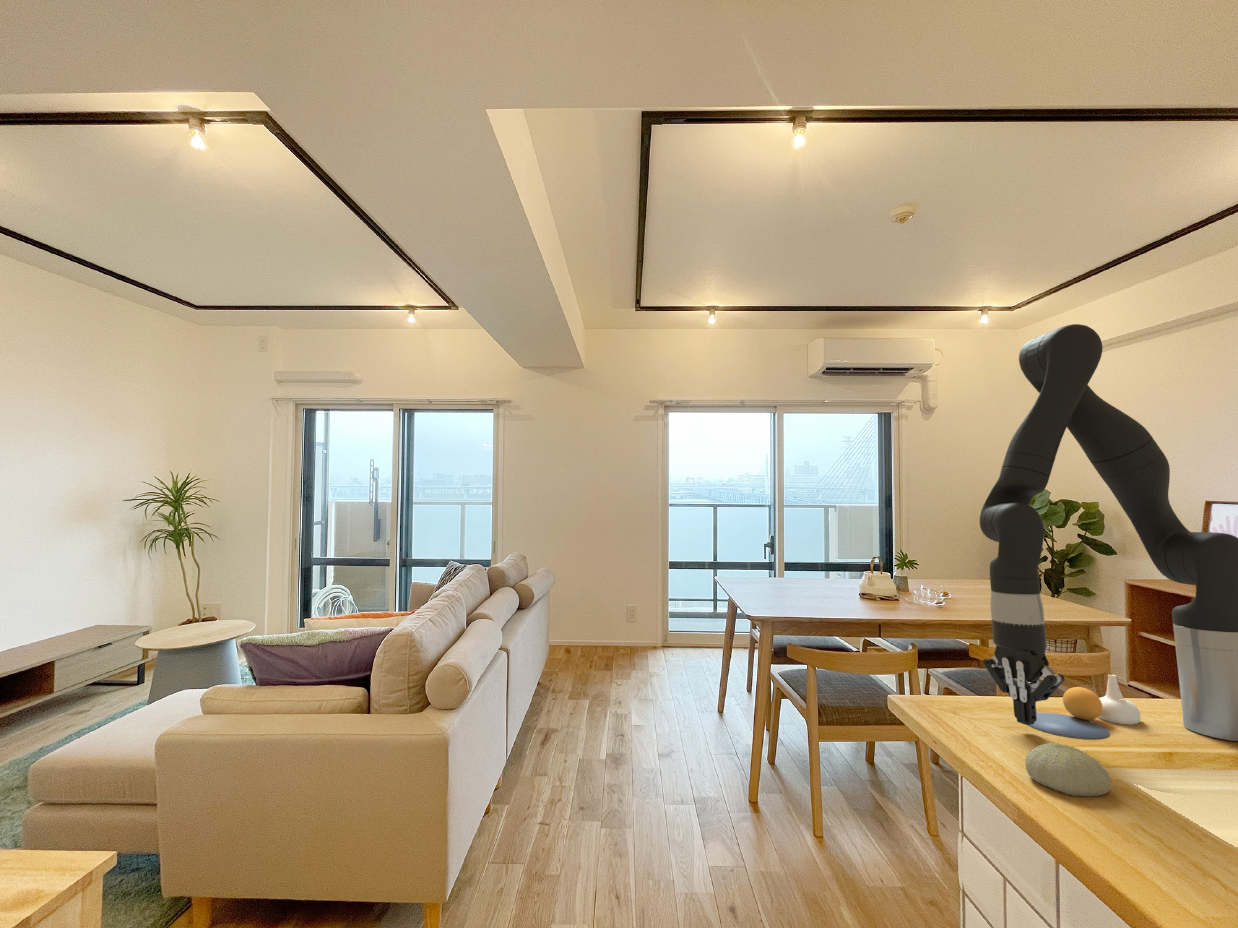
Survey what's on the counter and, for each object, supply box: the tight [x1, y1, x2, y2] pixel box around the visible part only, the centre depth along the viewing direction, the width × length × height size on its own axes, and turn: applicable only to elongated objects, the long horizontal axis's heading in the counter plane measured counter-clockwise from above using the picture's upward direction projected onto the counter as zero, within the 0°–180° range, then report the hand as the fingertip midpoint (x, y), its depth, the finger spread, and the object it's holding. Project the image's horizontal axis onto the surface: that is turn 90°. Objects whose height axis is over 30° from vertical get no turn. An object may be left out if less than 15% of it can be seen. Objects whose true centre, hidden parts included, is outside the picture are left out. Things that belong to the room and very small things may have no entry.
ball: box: [1062, 686, 1102, 721], centre depth 101 cm, size 6×6×6 cm
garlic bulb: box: [1098, 674, 1142, 726], centre depth 101 cm, size 6×6×8 cm
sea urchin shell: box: [1024, 742, 1112, 797], centre depth 77 cm, size 9×8×8 cm
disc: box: [1028, 712, 1111, 740], centre depth 98 cm, size 12×12×1 cm
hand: (1025, 722), depth 95 cm, fingers closed
